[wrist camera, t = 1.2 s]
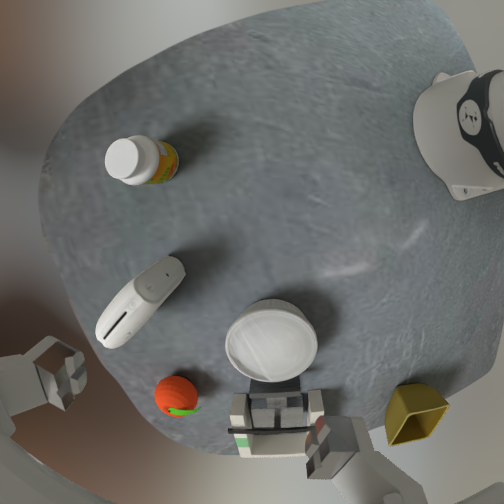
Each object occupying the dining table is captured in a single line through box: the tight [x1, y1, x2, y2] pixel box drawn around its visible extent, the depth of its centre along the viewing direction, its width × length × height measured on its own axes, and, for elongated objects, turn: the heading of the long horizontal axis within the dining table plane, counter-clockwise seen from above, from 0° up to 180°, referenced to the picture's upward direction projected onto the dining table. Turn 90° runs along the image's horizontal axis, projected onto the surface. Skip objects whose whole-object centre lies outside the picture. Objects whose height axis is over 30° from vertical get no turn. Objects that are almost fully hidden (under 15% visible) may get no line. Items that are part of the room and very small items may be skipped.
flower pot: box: [385, 383, 450, 446], centre depth 34 cm, size 9×9×9 cm
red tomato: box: [155, 376, 203, 417], centre depth 37 cm, size 8×7×7 cm
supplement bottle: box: [105, 135, 179, 185], centre depth 27 cm, size 5×5×10 cm
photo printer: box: [96, 255, 186, 348], centre depth 30 cm, size 10×4×12 cm, turn 134°
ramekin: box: [225, 299, 318, 382], centre depth 34 cm, size 11×11×5 cm
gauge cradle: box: [230, 390, 324, 457], centre depth 38 cm, size 14×13×5 cm
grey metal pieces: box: [228, 375, 316, 434], centre depth 36 cm, size 15×10×6 cm
